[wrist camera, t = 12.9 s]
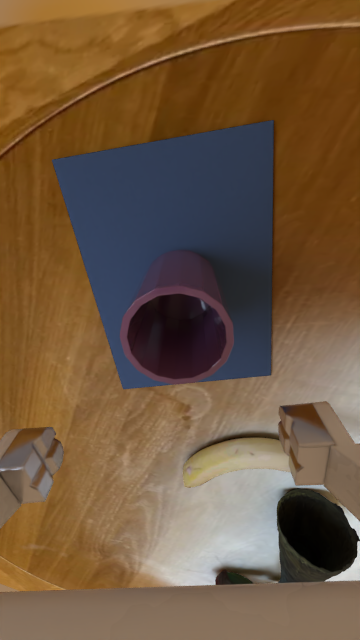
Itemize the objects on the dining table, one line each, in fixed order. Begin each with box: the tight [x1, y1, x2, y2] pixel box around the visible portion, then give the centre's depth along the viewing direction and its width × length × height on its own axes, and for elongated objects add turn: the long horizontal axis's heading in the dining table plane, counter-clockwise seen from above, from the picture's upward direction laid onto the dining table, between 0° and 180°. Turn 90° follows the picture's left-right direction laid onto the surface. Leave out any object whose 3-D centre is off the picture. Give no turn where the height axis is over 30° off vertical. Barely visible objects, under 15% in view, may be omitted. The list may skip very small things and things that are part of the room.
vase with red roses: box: [215, 489, 360, 585], centre depth 40 cm, size 16×18×35 cm
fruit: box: [183, 438, 291, 488], centre depth 33 cm, size 7×15×3 cm, turn 98°
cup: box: [120, 250, 234, 384], centre depth 20 cm, size 7×7×9 cm
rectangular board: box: [52, 120, 274, 389], centre depth 24 cm, size 22×16×1 cm
